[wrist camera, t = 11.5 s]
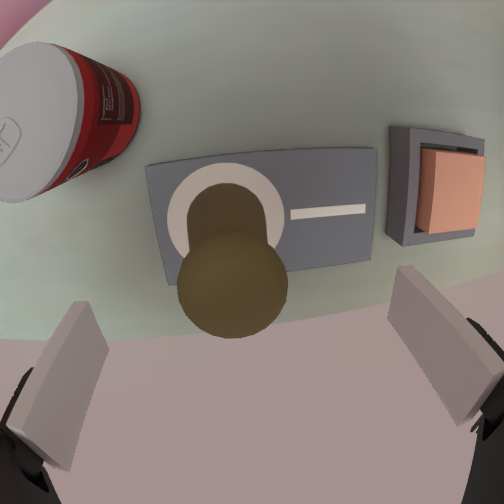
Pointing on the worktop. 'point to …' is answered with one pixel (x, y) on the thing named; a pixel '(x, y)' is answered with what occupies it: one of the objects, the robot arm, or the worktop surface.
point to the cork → (230, 264)
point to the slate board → (277, 202)
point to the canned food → (59, 118)
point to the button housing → (417, 182)
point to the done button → (449, 190)
